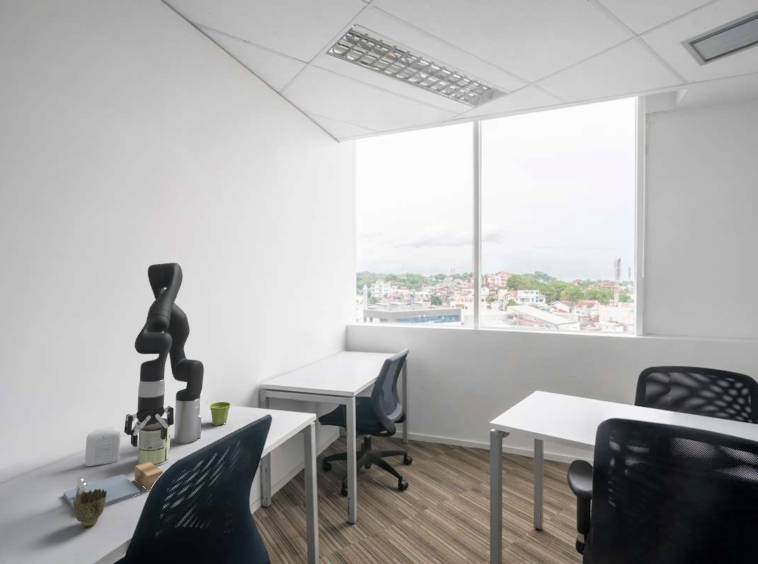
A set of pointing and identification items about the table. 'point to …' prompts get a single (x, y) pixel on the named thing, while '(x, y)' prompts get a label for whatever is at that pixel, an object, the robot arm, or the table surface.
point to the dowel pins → (80, 486)
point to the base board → (108, 490)
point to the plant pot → (219, 412)
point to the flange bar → (147, 474)
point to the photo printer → (102, 446)
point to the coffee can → (153, 445)
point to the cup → (89, 506)
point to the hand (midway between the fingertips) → (149, 442)
